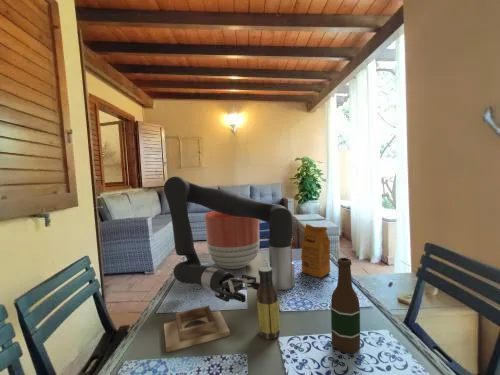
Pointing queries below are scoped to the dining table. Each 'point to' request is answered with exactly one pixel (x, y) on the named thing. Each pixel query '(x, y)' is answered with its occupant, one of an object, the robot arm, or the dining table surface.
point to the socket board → (194, 328)
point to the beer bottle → (345, 311)
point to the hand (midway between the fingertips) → (254, 293)
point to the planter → (231, 239)
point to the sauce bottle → (267, 305)
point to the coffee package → (315, 251)
